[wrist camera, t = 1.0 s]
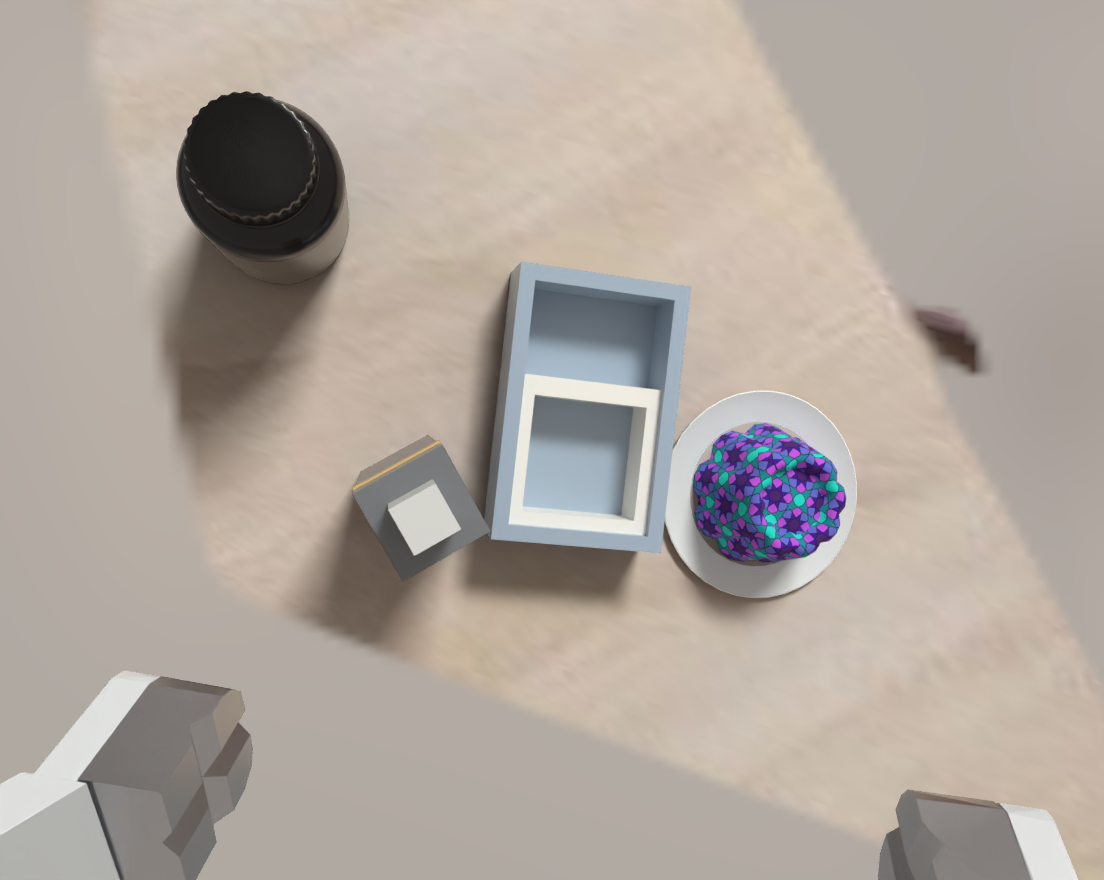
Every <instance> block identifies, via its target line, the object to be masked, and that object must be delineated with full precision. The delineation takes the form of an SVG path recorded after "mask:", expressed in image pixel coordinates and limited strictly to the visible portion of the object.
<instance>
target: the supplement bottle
mask: <svg viewBox="0 0 1104 880" xmlns="http://www.w3.org/2000/svg"><path fill="white" fill-rule="evenodd" d="M176 179H177V187H178V191H179V195H180V198H181V202H182V204H183V206H184V208H185V210H186V212H187V214H188V216H189V218H190V219H191V221H192V222H193V224H194V225H195V226H196V228H197V229H198V230H199V231H200V232H201V233H202V234H203V235H204V236H205V237H206V238H207V239H208V240H209V241H210V242H211V243H212V244H213V245H214V246H215V247H216V248H217V249H218V250H219V251H220V252H221V253H222V254H223V255H224V256H225V257H226V258H227V259H228V260H229V261H230V262H231V263H232V264H234V265H235V266H236V267H237V268H239V269H240V270H242V271H243V272H244V273H246V274H248V275H250V276H252V277H254V278H257V279H259V280H262V281H266V282H270V283H277V284H290V283H297V282H301V281H305V280H308V279H310V278H312V277H314V276H316V275H318V274H320V273H321V272H323V271H324V270H325V269H327V268H328V267H329V266H330V265H331V264H332V263H333V262H334V261H335V259H336V258H337V257H338V255H339V254H340V252H341V250H342V248H343V246H344V243H345V241H346V237H347V233H348V227H349V210H348V200H347V192H346V183H345V175H344V170H343V166H342V163H341V159H340V157H339V154H338V152H337V149H336V147H335V145H334V144H333V142H332V140H331V139H330V137H329V136H328V134H327V133H326V132H325V130H324V129H323V128H322V127H321V126H320V125H319V124H318V123H317V122H316V121H315V120H314V119H313V118H312V117H310V116H309V115H307V114H306V113H305V112H303V111H301V110H300V109H298V108H296V107H294V106H292V105H290V104H288V103H285V102H282V101H279V100H275V99H274V98H273V97H269V96H268V97H266V96H264V95H262V94H261V93H254V94H252V93H250V92H247V91H246V92H243V93H236V92H233V93H231V94H230V95H221V96H220V97H219V98H218V99H217V100H212V101H210V102H209V103H208V105H207V106H206V107H203V108H201V109H200V111H199V114H198V115H196V116H195V117H194V118H193V120H192V125H191V126H189V128H188V129H187V135H186V136H185V138H184V140H183V143H182V145H181V148H180V151H179V154H178V159H177V168H176Z"/></svg>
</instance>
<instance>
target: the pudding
mask: <svg viewBox="0 0 1104 880" xmlns="http://www.w3.org/2000/svg"><path fill="white" fill-rule="evenodd" d="M751 422H768V423H773V424H778V425H781V426H783V427H786V428H788V429H790V430H791V431H793V432H795V433H796V434H798V435H799V436H800V437H801V438H802V439H803V440H804V441H806V442H807V443H808V444H806V443H805V442H803V441H802V440H800V439H799V438H797V437H791V436H790V435H788V434H787V433H785V432H784V431H782V430H781V429H779V428H778V427H775V426H772V425H769V424H766V423H764V424H756V425H753V426H752V427H751V428H750V429H749V430H748V431H747V432H746V433H745V434H743V433H739V432H735V431H731V432H728V433H726V434H724V435H722V436H720V435H721V434H723V433H724V432H726V431H728V430H729V429H731V428H734V427H736V426H739V425H741V424H746V423H751ZM719 436H720V438H719V439H718V440H717V441H716V442H715V443H714V444H713V448H712V455H711V459H709V460H707V461H705V462H703V463H702V464H700V465H699V466H698V468H697V470H696V473H695V475H694V480H693V489H694V491H695V493H696V494H697V496H698V498H699V500H700V501H699V503H698V505H697V508H696V510H695V517H696V522H697V525H698V527H699V528H700V530H701V531H702V533H703V534H704V535H707V536H710V537H713V538H716V539H717V543H718V546H719V550H720V552H721V553H723V554H724V555H725V556H727V557H728V558H729V559H733V560H738V561H746V560H755V559H758V560H760V561H761V562H763V563H764V562H775V561H779V562H777V563H774V564H770V565H765V566H748V565H742V564H738V563H735V562H732V561H730V560H728V559H726V558H724V557H723V556H721V555H719V554H718V553H717V552H715V551H714V550H713V549H712V548H711V547H710V546H709V545H708V544H707V542H706V541H705V540H704V539H703V537H702V536H701V534H700V532H699V530H698V528H697V527H696V524H695V521H694V518H693V515H692V510H691V503H690V488H691V482H692V477H693V474H694V471H695V468H696V465H697V463H698V461H699V459H700V458H701V456H702V454H703V452H704V451H705V450H706V449H707V448H708V446H709V445H710V444H711V443H712V442H713V441H714V440H715V439H716V438H717V437H719ZM856 503H857V481H856V474H855V467H854V464H853V461H852V457H851V454H850V451H849V449H848V447H847V445H846V443H845V441H844V439H843V437H842V435H841V434H840V432H839V431H838V430H837V428H836V427H835V426H834V424H833V423H832V422H831V421H830V420H829V419H828V418H827V417H826V416H825V415H824V414H823V413H822V412H821V411H820V410H818V409H817V408H815V407H814V406H812V405H811V404H809V403H808V402H806V401H804V400H802V399H800V398H797V397H795V396H792V395H790V394H786V393H781V392H776V391H750V392H744V393H739V394H736V395H733V396H730V397H728V398H725V399H722V400H721V401H719V402H717V403H716V404H714V405H712V406H710V407H709V408H707V409H706V410H705V411H704V412H702V413H701V414H700V415H699V416H698V417H697V418H695V419H694V420H693V421H692V423H691V424H690V425H689V426H688V427H687V429H686V430H685V431H684V432H683V434H682V435H681V437H680V438H679V440H678V442H677V444H676V445H675V447H674V449H673V452H672V460H671V469H670V478H669V487H668V496H667V505H666V514H665V524H666V527H667V530H668V533H669V536H670V539H671V541H672V543H673V545H674V547H675V549H676V550H677V552H678V554H679V556H680V557H681V559H682V560H683V561H684V562H685V564H686V565H687V566H688V567H689V568H690V570H691V571H692V572H694V573H695V574H696V575H697V576H698V577H699V578H701V579H702V580H703V581H704V582H706V583H708V584H709V585H711V586H713V587H714V588H716V589H718V590H720V591H723V592H726V593H729V594H732V595H734V596H740V597H747V598H769V597H773V596H778V595H782V594H786V593H788V592H791V591H793V590H796V589H798V588H800V587H802V586H804V585H805V584H807V583H808V582H810V581H811V580H813V579H814V578H816V577H817V576H818V575H819V574H820V573H821V572H822V571H823V570H825V569H826V568H827V567H828V566H829V564H830V563H831V562H832V561H833V559H834V558H835V557H836V555H837V554H838V553H839V551H840V549H841V548H842V546H843V544H844V542H845V540H846V539H847V537H848V534H849V531H850V528H851V525H852V523H853V519H854V514H855V509H856Z"/></svg>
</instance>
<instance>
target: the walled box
mask: <svg viewBox="0 0 1104 880" xmlns="http://www.w3.org/2000/svg"><path fill="white" fill-rule="evenodd" d="M690 292H691V287H689V286H682V285H675V284H668V283H662V282H655V281H648V280H641V279H635V278H628V277H621V276H614V275H608V274H601V273H594V272H587V271H580V270H574V269H567V268H560V267H553V266H547V265H540V264H533V263H526V262H521V263H520V264H519V265H518V266H517V267H516V268H515V269H514V270H513V271H512V272H511V277H510V286H509V296H508V305H507V314H506V323H505V332H504V341H503V350H502V360H501V369H500V378H499V387H498V396H497V405H496V414H495V424H494V433H493V442H492V451H491V460H490V469H489V479H488V488H487V497H486V506H485V515H484V520H485V522H486V524H487V526H488V527H489V529H490V532H488V533H487V535H488V536H489V537H490V539H494V540H506V541H518V542H530V543H542V544H554V545H567V546H579V547H591V548H603V549H615V550H627V551H639V552H651V553H661V549H662V540H663V531H664V522H665V514H666V505H667V496H668V487H669V478H670V469H671V460H672V452H673V443H674V434H675V425H676V416H677V407H678V398H679V390H680V381H681V372H682V363H683V354H684V345H685V336H686V328H687V319H688V310H689V301H690Z"/></svg>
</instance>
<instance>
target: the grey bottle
mask: <svg viewBox="0 0 1104 880" xmlns="http://www.w3.org/2000/svg"><path fill="white" fill-rule="evenodd" d="M353 491H354V492H353V496H354V498H355V500H356V501H357V503H358V505H359V507H360V508H361V510H362V512H363V514H364V515H365V517H366V519H367V520H368V522H369V524H370V526H371V527H372V529H373V531H374V533H375V534H376V536H377V538H378V540H379V541H380V543H381V545H382V547H383V548H384V550H385V552H386V553H387V555H388V557H389V559H390V560H391V562H392V564H393V566H394V567H395V569H396V571H397V573H398V574H399V576H400V578H401V580H402V581H405V580H406V579H408V578H410V577H412V576H413V575H415V574H417V573H419V572H420V571H422V570H424V569H426V568H427V567H429V566H431V565H433V564H434V563H436V562H438V561H440V560H441V559H443V558H445V557H447V556H448V555H450V554H452V553H454V552H455V551H457V550H459V549H461V548H462V547H464V546H466V545H468V544H469V543H471V542H473V541H474V540H476V539H478V538H480V537H481V536H483V535H485V534H487V533H488V532H490V529H489V527H488V526H487V524H486V522H485V520H484V518H483V517H482V515H481V513H480V511H479V509H478V508H477V506H476V504H475V502H474V500H473V499H472V497H471V495H470V493H469V491H468V490H467V488H466V486H465V484H464V482H463V481H462V479H461V477H460V475H459V473H458V472H457V470H456V468H455V466H454V464H453V463H452V461H451V459H450V457H449V456H448V454H447V452H446V450H445V448H444V447H443V445H442V444H441V442H440V441H439V440H438V441H436V440H434V439H433V438H431V437H430V436H428V435H427V436H425V437H423V438H421V439H420V440H418V441H416V442H414V443H412V444H410V445H409V446H407V447H405V448H403V449H401V450H399V451H398V452H396V453H394V454H392V455H390V456H389V457H387V458H385V459H383V460H381V461H379V462H378V463H376V464H374V465H372V466H370V467H368V468H367V469H365V470H363V471H361V473H360V475H359V478H358V481H357V484H356V486H354V487H353Z"/></svg>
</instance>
